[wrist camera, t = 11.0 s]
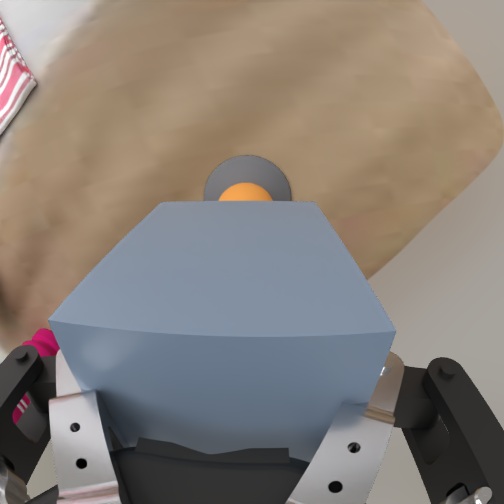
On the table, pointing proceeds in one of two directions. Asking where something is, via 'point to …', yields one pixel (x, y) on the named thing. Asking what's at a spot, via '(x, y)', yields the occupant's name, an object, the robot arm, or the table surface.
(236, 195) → the ball
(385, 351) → the blue gray block
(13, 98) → the dish towel
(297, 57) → the table surface
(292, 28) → the table surface
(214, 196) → the gray ellipsoid
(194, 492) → the robot arm
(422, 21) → the table surface
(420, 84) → the table surface
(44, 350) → the pepper mill
